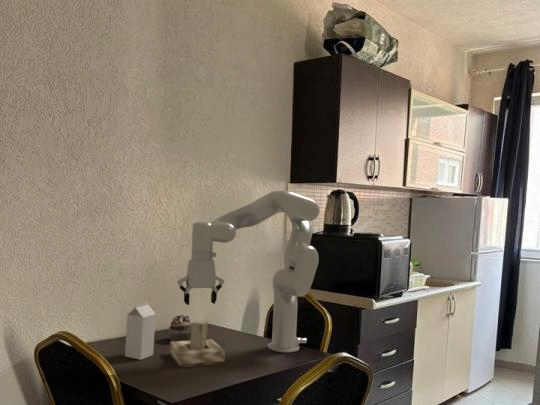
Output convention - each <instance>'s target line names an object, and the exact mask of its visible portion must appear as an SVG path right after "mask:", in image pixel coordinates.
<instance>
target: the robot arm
mask: <svg viewBox="0 0 540 405" xmlns="http://www.w3.org/2000/svg"><path fill="white" fill-rule="evenodd" d="M279 213H285V214H286V215H287V217H288V219H289V221H290V223H291V232H290V236H289V239H288V242H287V245H286V248H285V250H284V251H285V252H284V255H283V259H284V262H285V264H287V266H290V267H292V268H293V269H290V268H281V269H279V270H277V271H276V272H274V274H273V277H272V289H273V312H272V313H273V314H272V331H271V332H272V334H271V335H272V336H271V337H272V338H271V342H268V343H267V348H268V349H269V350H271V351H273V352H276V353H277V352H279V353H295V352H298V351H299V350H300V344H306V343H307V342H308V341H307V340H308V339H307V338H306V337H297V324H298V323H297V322H298V305H299V304H298V297H304V296H306V295H307V294H308V292H309V291H310V290H311V287H312V284H313V282H314V279H315V274H316V272H317V268H318V266H319V261H320V260H319V253H318V251H317V249H316V248H315V247H314V246H312V245H311V240H312V236H313V226H312V224H311V222H312V221H314V220H316V219H317V218H318V217H319V215H320V206H319V204H318V202H317V201H315V200H313V199H312V198H308V197H306V196H303V195H300V194H298V193H295V192H292V191H289V190H273V191H271V192H268V193H267V194H264V195H263V196H261V197H259V198H258V199H256V200H254V201H251V202H250V203H249V204H245V205H244V206H241V207H239V208H237V209H234V210H232V211H230V212H228V213H227V212H226V213H224V214H223V215H221V216H218V218H215V219H214V220H212V221H210V222H209V221H208V222H203V221H198V222H197V221H196V222H194V223H193V224H192V232H191V233H192V235H191V256H190V257H191V259H189V260H188V263H187V268H186V275H185V276H184V277H182V278H180V279H178V280H177V281H176V283H177V285H178V287H179V289H180V290H181V291H182V292H183V302H184V304H185V305H186V306H189V305H190V296H191V295H190V293H189V292H190V291H191V290H192V289H209V288H210V289H211V292H210V293H211V294H210V302H211V304H216V301H217V299H218V298H217V297H218V296H217V295H218V294H217V293H219V290H221V288H222V286H223V285H224V283H225V280H224V279H223V278H221V277H219V276H217V275H216V274H217V273H216V264H215V260H214V258H215V257H217V252H214V251H213V248H214V242H216V243H217V242H218V243H223V244H227V243H230V242H231V241H233V240H234V239H235V237H236V235H237V230H240V229H244V228H249V227H250V228H251V227H254V226H257V225H260V224H261V223H262V222H264V221H266V220H268V219H269V218H271V217H273V216H275V215H276V214H279ZM216 281H217V282H218V284H217V285H216ZM184 282H185V285H186V286H185V287H184V285H183V283H184Z"/></svg>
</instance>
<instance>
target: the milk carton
mask: <svg viewBox="0 0 540 405" xmlns="http://www.w3.org/2000/svg"><path fill="white" fill-rule="evenodd" d="M126 316H127V317H126V329H125V330H126V331H125V332H126V333H125V348H124V356H125V357H127V358H129V359H130V358H131V359H136V360H141V361H142V360H143V359H147V358H149V357H152V356H154V345H155V330H156V329H155V328H156V313H155V312H154V310H153V309H152V308H151V306H150V305H149V301H146V302H140V303H137V304H135V306H134V307H133V309H132V310H131V311H130V312H128V314H127V315H126Z"/></svg>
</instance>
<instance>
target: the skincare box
mask: <svg viewBox="0 0 540 405" xmlns="http://www.w3.org/2000/svg"><path fill="white" fill-rule="evenodd" d="M207 337H208V321H207V320H200V319H198V320H195V321H193V322H191V339H190V341H191V343H190V350H195V349H206V340H208V338H207Z"/></svg>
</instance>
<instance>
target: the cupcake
mask: <svg viewBox="0 0 540 405" xmlns="http://www.w3.org/2000/svg"><path fill="white" fill-rule="evenodd" d="M191 325H192V322H191V318H190V317H189V316H188V315H185V316H184V314H180V315H175V316H172V321H171V322H170V326H169V329H168V331H169V337H170V342H174V341H191Z"/></svg>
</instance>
